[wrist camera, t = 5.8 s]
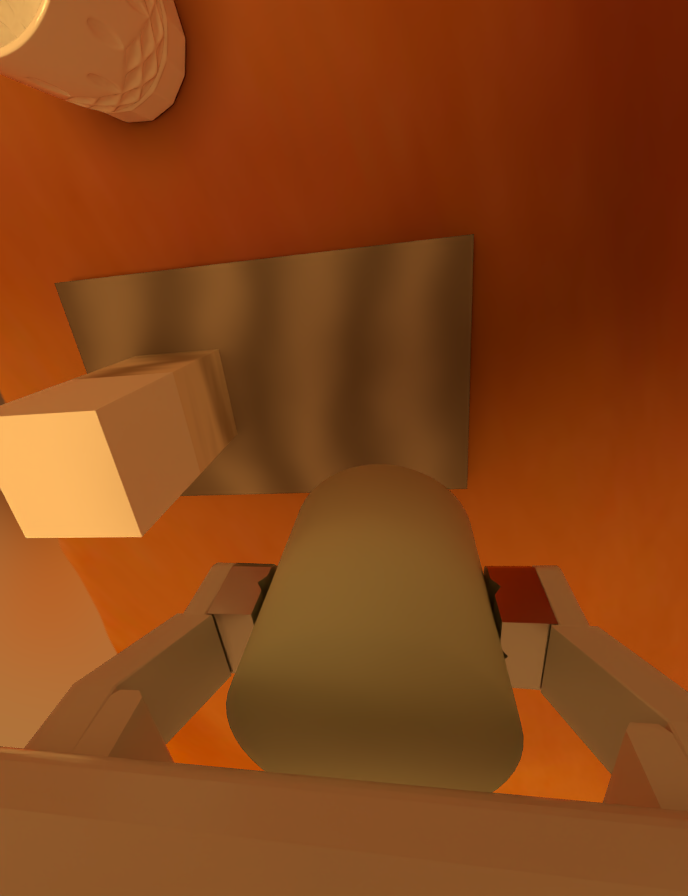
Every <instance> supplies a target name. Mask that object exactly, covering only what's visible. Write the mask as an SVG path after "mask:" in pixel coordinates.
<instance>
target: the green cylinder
mask: <svg viewBox="0 0 688 896" xmlns="http://www.w3.org/2000/svg"><path fill="white" fill-rule="evenodd" d="M226 710H227V718H228V721H229V725H230V728H231V730H232V732H233V734H234V737H235V738H236V740H237V741H238V743H239V744H240V746H241V748H242V749H243V750H244V751H245V752H246V753H247V755H248V756H249V757H250V758H251V759H252V760H253V761H254V762H255V763H256V764H257V765H258V766H259V767H261V768H262V769H263V770H264V771H266V772H277V773H287V774H298V775H309V776H320V777H330V778H341V779H352V780H363V781H373V782H384V783H395V784H405V785H416V786H427V787H437V788H448V789H458V790H469V791H480V792H490V793H492V792H493V791H495V790H497V789H498V788H499V787H500V786H501V785H502V784H503V783H505V782H506V781H507V780H508V778H509V777H510V776H511V775H512V773H513V772H514V771H515V769H516V767H517V765H518V763H519V761H520V759H521V755H522V751H523V732H522V727H521V722H520V718H519V714H518V710H517V706H516V702H515V698H514V694H513V690H512V686H511V682H510V678H509V675H508V671H507V667H506V663H505V659H504V655H503V651H502V647H501V643H500V639H499V635H498V631H497V627H496V623H495V619H494V615H493V611H492V607H491V603H490V599H489V595H488V591H487V587H486V583H485V579H484V575H483V571H482V567H481V563H480V559H479V555H478V551H477V547H476V544H475V540H474V536H473V532H472V528H471V524H470V521H469V518H468V516H467V513H466V511H465V510H464V508H463V506H462V504H461V503H460V502H459V501H458V499H457V498H456V497H455V496H454V494H452V493H451V492H450V491H449V490H448V489H447V488H446V487H445V486H443V485H442V484H441V483H439V482H438V481H436V480H435V479H433V478H431V477H429V476H427V475H426V474H423V473H421V472H418V471H416V470H413V469H409V468H405V467H402V466H395V465H387V464H372V465H362V466H358V467H353V468H349V469H346V470H344V471H341V472H338V473H336V474H334V475H332V476H330V477H329V478H327V479H326V480H324V481H323V482H321V483H320V484H319V485H318V486H317V487H316V488H314V489H313V490H312V492H311V493H310V494H309V495H308V497H307V498H306V499H305V501H304V503H303V505H302V506H301V509H300V511H299V514H298V516H297V519H296V521H295V524H294V527H293V529H292V532H291V534H290V537H289V539H288V542H287V544H286V547H285V549H284V552H283V554H282V557H281V559H280V562H279V564H278V567H277V569H276V572H275V574H274V577H273V579H272V582H271V585H270V587H269V590H268V592H267V595H266V597H265V600H264V602H263V605H262V607H261V610H260V612H259V615H258V617H257V620H256V622H255V625H254V627H253V630H252V632H251V635H250V638H249V640H248V643H247V645H246V648H245V650H244V653H243V655H242V658H241V660H240V663H239V665H238V668H237V670H236V673H235V675H234V678H233V680H232V683H231V686H230V688H229V691H228V695H227V701H226Z"/></svg>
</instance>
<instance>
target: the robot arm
mask: <svg viewBox="0 0 688 896" xmlns="http://www.w3.org/2000/svg"><path fill="white" fill-rule="evenodd" d="M277 567H278V566H276V565H275V564H254V563H216V564H215V565H213V566H212V568H211V569H210V571H209V573H208V574H207V576H206V577H205V579H204V581H203V582H202V584H201V586H200V587H199V589H198V590H197V592H196V594H195V595H194V597H193V599H192V600H191V602H190V604H189V605H188V607H187V608H186V610H185V612H184V613H183V614H176V615H175V616H173V617H172V618H170V619H169V620H167V621H166V622H164V623H163V624H161V625H160V626H158V627H157V628H155V629H154V630H153V631H151V632H150V633H148V634H147V635H145V636H144V637H142V638H141V639H139V640H138V641H136V642H135V643H133V644H132V645H130V646H129V647H127V648H126V649H124V650H123V651H122V652H120V653H119V654H117V655H116V656H114V657H113V658H111V659H110V660H108V661H107V662H105V663H104V664H102V665H101V666H99V667H98V668H96V669H95V670H94V671H92V672H91V673H89V674H88V675H86V676H85V677H83V678H82V679H80V680H79V681H77V682H76V683H74V684H73V685H72V687H71V688H70V689H69V691H68V692H67V693H66V694H65V696H64V697H63V698H62V700H61V701H60V702H59V704H58V705H57V706H56V708H55V709H54V710H53V711H52V713H51V714H50V715H49V717H48V718H47V719H46V721H45V722H44V723H43V725H42V726H41V727H40V729H39V730H38V731H37V732H36V734H35V735H34V736H33V737H32V739H31V740H30V741H29V743H28V744H27V745H26V747H25V748H24V749H22V748H12V747H1V746H0V896H688V692H687V691H686V690H684V689H683V688H682V687H680V686H679V685H677V684H676V683H675V682H673V681H672V680H671V679H669V678H668V677H667V676H665V675H664V674H662V673H661V672H660V671H658V670H657V669H656V668H654V667H653V666H651V665H650V664H649V663H647V662H646V661H645V660H643V659H642V658H640V657H639V656H638V655H636V654H635V653H634V652H632V651H631V650H629V649H628V648H627V647H625V646H624V645H623V644H621V643H620V642H618V641H617V640H616V639H614V638H613V637H612V636H610V635H609V634H607V633H606V632H605V631H603V630H602V629H601V628H599V627H598V626H590V625H589V623H588V622H587V620H586V618H585V616H584V614H583V612H582V610H581V608H580V606H579V604H578V602H577V600H576V598H575V596H574V594H573V592H572V590H571V588H570V586H569V584H568V582H567V580H566V578H565V576H564V574H563V573H562V571H561V569H560V568H559V567H558V566H532V567H531V566H485V568H484V579H485V583H486V587H487V591H488V595H489V599H490V603H491V607H492V611H493V615H494V619H495V623H496V627H497V631H498V635H499V639H500V643H501V647H502V651H503V655H504V659H505V663H506V667H507V671H508V675H509V678H510V682H511V686H512V688H523V689H535V690H541V693H542V694H543V695H544V696H545V698H546V699H547V700H548V701H549V702H550V703H551V705H552V706H553V707H554V708H555V709H556V710H557V712H558V713H559V714H560V715H561V716H562V717H563V719H564V720H565V721H566V722H567V723H568V724H569V726H570V727H571V728H572V729H573V730H574V731H575V733H576V734H577V735H578V736H579V737H580V738H581V740H582V741H583V742H584V743H585V744H586V745H587V746H588V748H589V749H590V750H591V751H592V752H593V753H594V755H595V756H596V757H597V758H598V759H599V760H600V762H601V763H602V764H603V765H604V766H605V767H606V769H607V770H608V771H609V772H610V773H611V774H612V775H611V779H610V782H609V785H608V788H607V791H606V794H605V798H604V801H603V803H597V802H586V801H575V800H565V799H554V798H543V797H533V796H522V795H512V794H501V793H490V792H480V791H469V790H458V789H448V788H437V787H427V786H416V785H405V784H395V783H384V782H373V781H363V780H352V779H341V778H330V777H320V776H309V775H298V774H287V773H277V772H266V771H255V770H244V769H234V768H223V767H213V766H202V765H192V764H181V763H174V761H173V759H172V757H171V755H170V753H169V751H168V749H167V747H166V744H167V743H168V742H169V741H170V740H171V739H172V737H173V736H174V735H175V734H176V733H177V732H178V731H179V730H180V729H181V728H182V727H183V726H184V725H185V724H186V723H187V722H188V721H189V720H190V718H191V717H192V716H193V715H194V714H195V713H196V712H197V711H198V710H199V709H200V708H201V707H202V706H203V705H204V704H205V703H206V702H207V701H208V699H209V698H210V697H211V696H212V695H213V694H214V693H215V692H216V691H217V690H218V689H219V688H220V687H221V686H222V685H223V684H224V683H225V682H226V680H227V679H228V678H229V677H230V676H231V673H236V670H237V668H238V665H239V663H240V660H241V658H242V655H243V653H244V650H245V648H246V645H247V643H248V640H249V638H250V635H251V632H252V630H253V627H254V625H255V622H256V620H257V617H258V615H259V612H260V610H261V607H262V605H263V602H264V600H265V597H266V595H267V592H268V590H269V587H270V585H271V582H272V579H273V577H274V574H275V572H276V569H277Z"/></svg>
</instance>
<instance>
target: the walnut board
mask: <svg viewBox="0 0 688 896" xmlns="http://www.w3.org/2000/svg"><path fill="white" fill-rule="evenodd" d="M473 247H474V234H471V235H462V236H454V237H445V238H437V239H428V240H420V241H411V242H402V243H394V244H385V245H377V246H368V247H360V248H351V249H343V250H334V251H325V252H317V253H308V254H300V255H291V256H283V257H274V258H266V259H257V260H249V261H240V262H231V263H223V264H214V265H206V266H197V267H189V268H180V269H172V270H163V271H154V272H146V273H137V274H129V275H120V276H112V277H103V278H95V279H86V280H78V281H69V282H60V283H55V286H56V289H57V292H58V294H59V297H60V300H61V303H62V305H63V308H64V311H65V314H66V316H67V319H68V322H69V325H70V327H71V330H72V333H73V336H74V338H75V341H76V344H77V347H78V349H79V352H80V355H81V358H82V360H83V363H84V366H85V369H86V371H87V374H88V373H91V372H94V371H96V370H99V369H102V368H105V367H107V366H110V365H113V364H116V363H118V362H121V361H124V360H126V359H129V358H132V357H135V356H145V355H157V354H169V353H181V352H193V351H205V350H217V349H219V354H220V358H221V363H222V367H223V372H224V376H225V381H226V385H227V390H228V394H229V398H230V403H231V407H232V412H233V416H234V421H235V425H236V430H237V435H236V436H235V437H234V438H233V439H232V440H231V441H230V442H229V444H228V445H227V446H226V447H225V448H224V449H223V450H222V451H221V452H220V453H219V454H218V455H217V456H216V458H215V459H214V460H213V461H212V462H211V463H210V464H209V465H208V466H207V467H206V468H205V469H204V471H203V472H202V473H201V474H200V475H199V476H198V477H197V478H196V479H195V480H194V481H193V482H192V483H191V485H190V486H189V487H188V488H187V489H186V490H185V491H184V492H183V493H182V494H181V495H180V496H198V495H237V494H277V493H311V492H312V490H313V489H314V488H316V487H317V486H318V485H319V484H320V483H321V482H323V481H324V480H326V479H327V478H329V477H330V476H332V475H334V474H336V473H338V472H341V471H344V470H346V469H349V468H353V467H358V466H362V465H372V464H387V465H395V466H402V467H405V468H409V469H413V470H416V471H418V472H421V473H423V474H426V475H427V476H429V477H431V478H433V479H435V480H436V481H438V482H439V483H441V484H442V485H443V486H445V487H446V488H447V489H467V475H468V437H469V399H470V361H471V323H472V285H473Z"/></svg>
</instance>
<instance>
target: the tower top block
mask: <svg viewBox="0 0 688 896" xmlns="http://www.w3.org/2000/svg"><path fill="white" fill-rule="evenodd" d="M200 474H201V473H200V470H199V466H198V462H197V459H196V455H195V451H194V448H193V444H192V441H191V437H190V433H189V430H188V426H187V422H186V419H185V415H184V412H183V408H182V404H181V401H180V397H179V394H178V390H177V386H176V383H175V379H174V375H173V372H168V373H155V374H142V375H129V376H115V377H102V378H89V379H76V380H69V381H66V382H64V383H61V384H58V385H55V386H53V387H50V388H47V389H44V390H42V391H39V392H36V393H33V394H31V395H28V396H25V397H23V398H20V399H17V400H14V401H12V402H9V403H6V404H4V405H1V406H0V488H1V490H2V492H3V494H4V496H5V498H6V500H7V502H8V504H9V506H10V508H11V510H12V512H13V514H14V516H15V518H16V519H17V522H18V523H19V525H20V527H21V529H22V531H23V533H24V535H25V537H26V538H75V537H142V536H143V535H144V534H145V533H146V532H147V531H148V530H149V529H150V528H151V527H152V526H153V524H154V523H155V522H156V521H157V520H158V519H159V518H160V517H161V516H162V515H163V514H164V513H165V512H166V510H167V509H168V508H169V507H170V506H171V505H172V504H173V503H174V502H175V501H176V500H177V499H178V497H179V496H180V495H181V494H182V493H183V492H184V491H185V490H186V489H187V488H188V487H189V486H190V485H191V483H192V482H193V481H194V480H195V479H196V478H197V477H198V476H199V475H200Z"/></svg>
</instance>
